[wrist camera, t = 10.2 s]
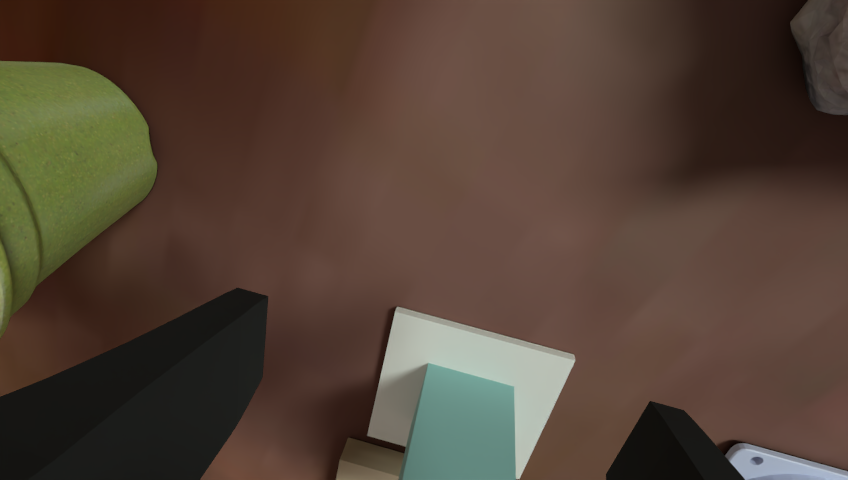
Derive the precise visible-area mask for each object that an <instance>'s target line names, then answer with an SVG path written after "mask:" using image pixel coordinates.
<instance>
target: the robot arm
mask: <svg viewBox="0 0 848 480" xmlns="http://www.w3.org/2000/svg"><path fill="white" fill-rule="evenodd" d="M267 306H268V296H265V295H262V294H258V293H255V292H251V291H247V290H244V289H240V288H236V289H234V290H232V291H229V292H227V293H225V294H223V295H221V296H219V297H217V298H215V299H213V300H211V301H209V302H207V303H205V304H203V305H201V306H200V307H198V308H196V309H194V310H192V311H190V312H188V313H186V314H184V315H182V316H180V317H178V318H176V319H174V320H172V321H170V322H168V323H166V324H164V325H162V326H160V327H158V328H156V329H154V330H152V331H150V332H148V333H146V334H144V335H141V336H139V337H137V338H135V339H133V340H131V341H129V342H127V343H125V344H123V345H121V346H118V347H116V348H114V349H112V350H110V351H107V352H105V353H103V354H101V355H98V356H96V357H94V358H92V359H89V360H87V361H85V362H83V363H80V364H78V365H76V366H74V367H71V368H69V369H67V370H65V371H62V372H60V373H58V374H56V375H53V376H51V377H49V378H46V379H44V380H41V381H39V382H37V383H34V384H32V385H29V386H27V387H24V388H22V389H19V390H17V391H14V392H11V393H9V394H6V395H4V396H1V397H0V480H200V478H201V477H202V476H203V474H204V473H205V471H206V470H207V468H208V467H209V465H210V464H211V463H212V461H213V460H214V458H215V457H216V455H217V454H218V452H219V451H220V449H221V448H222V447H223V445H224V444H225V442H226V441H227V439H228V438H229V436H230V435H231V433H232V432H233V430H234V429H235V427H236V426H237V424H238V422H239V421H240V419H241V417H242V415H243V413H244V411H245V410H246V408H247V406H248V404H249V402H250V400H251V398H252V396H253V395H254V393H255V391H256V389H257V387H258V385H259V383H260V381H261V379H262V377H263V363H264V349H265V335H266V320H267ZM606 480H848V471H845V470H841V469H837V468H834V467H830V466H826V465H823V464H819V463H816V462H812V461H808V460H805V459H801V458H797V457H794V456H790V455H787V454H783V453H779V452H776V451H772V450H768V449H765V448H761V447H758V446H754V445H750V444H746V443H739V444H736V445H734V446H732V447H731V448H730V450H729V451H728V452H727V454H726V455H724V454H723V453H722V452H721V451H720V450H719V448H718V447H717V446H716V445H715V444H714V443H713V442H712V440H711V439H710V438H709V437H708V436H707V435H706V434H705V432H704V431H703V430H702V429H701V428H700V427H699V426H698V425H697V424H696V423H695V421H694V420H693V419H692V418H691V417H690V416H689V415H688V414H687V413H686V412H685V411H684V410H681V409H677V408H674V407H670V406H666V405H663V404H659V403H655V402H652V401H650V402H649V404H648V405H647V407H646V409H645V410H644V412H643V414H642V415H641V417H640V419H639V420H638V422H637V424H636V425H635V427H634V429H633V430H632V432H631V434H630V435H629V437H628V439H627V440H626V442H625V444H624V445H623V447H622V449H621V450H620V452H619V454H618V455H617V457H616V459H615V460H614V462H613V464H612V465H611V467H610V469H609V470H608V472H607V474H606Z"/></svg>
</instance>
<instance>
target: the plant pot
mask: <svg viewBox="0 0 848 480" xmlns="http://www.w3.org/2000/svg"><path fill="white" fill-rule="evenodd" d="M156 174H157V162H156V160H155V158H154V156H153V153H152V149H151V145H150V138H149V127H148V125H147V123H146V121H145V119H144V118H143V116H142V114H141V113H140V111H139V110H138V109H137V107H136V106H135V104H134V103H133V102H132V101H131V100H130V99H129V98H128V97H127V95H126V94H125V93H124V92H123V91H122V90H121V89H119V88H118V87H117V86H116V85H115V84H113V83H112V82H111V81H109V80H108V79H107V78H105V77H103V76H102V75H100V74H98V73H96V72H94V71H92V70H90V69H87V68H84V67H80V66H75V65H69V64H63V63H47V62H14V61H0V338H1V337H2V335H3V334H4V332H5V330H6V328H7V326H8V323H9V320H10V317H11V316H12V315H13V314H14V313H15V312H16V311H17V310H19V309H20V308H21V307H22V306H23V305H24V304H25V303H26V302H27V301H28V300H29V298H30V297H31V295H32V293H33V291H34V290H35V287H36V286H37V285H38V284H39V283H41V282H42V281H43V280H44V279H45V278H47V277H48V276H49V275H50V274H51V273H53V272H54V271H55V270H56V269H57V268H59V267H60V266H61V265H62V264H63V263H64V262H66V261H67V260H68V259H69V258H70V257H72V256H73V255H74V254H75V253H77V252H78V251H79V250H80V249H81V248H83V247H84V246H85V245H86V244H88V243H89V242H90V241H91V240H93V239H94V238H95V237H96V236H98V235H99V234H100V233H101V232H103V231H104V230H105V229H106V228H108V227H109V226H110V225H112V224H113V223H114V222H116V221H117V220H118V219H119V218H121V217H122V216H123V215H124V214H126V213H127V212H128V211H129V210H131V209H132V208H133V207H134V206H136V205H137V204H138V203H140V202H141V201H142V200H143V199H144V198H145V197H146V196H147V195H148V193H149V192H150V190H151V188H152V187H153V184H154V182H155V178H156Z"/></svg>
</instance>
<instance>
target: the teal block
mask: <svg viewBox="0 0 848 480" xmlns="http://www.w3.org/2000/svg"><path fill="white" fill-rule="evenodd" d="M398 480H516V462H515V407H514V386H510V385H507V384H503V383H499V382H496V381H492V380H488V379H485V378H481V377H478V376H474V375H470V374H467V373H463V372H460V371H456V370H452V369H449V368H445V367H441V366H438V365H434V364H431V363H428V366H427V370H426V373H425V377H424V380H423V384H422V388H421V391H420V395H419V398H418V402H417V405H416V409H415V412H414V416H413V419H412V423H411V427H410V431H409V436H408V440H407V444H406V449H405V453H404V457H403V462H402V466H401V470H400V474H399V479H398Z"/></svg>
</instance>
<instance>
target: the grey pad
mask: <svg viewBox="0 0 848 480" xmlns="http://www.w3.org/2000/svg"><path fill="white" fill-rule="evenodd" d="M574 362H575V356H574V354H570V353H566V352H563V351H559V350H555V349H552V348H548V347H544V346H541V345H537V344H533V343H530V342H526V341H522V340H519V339H515V338H511V337H508V336H504V335H500V334H497V333H493V332H489V331H485V330H482V329H478V328H474V327H471V326H467V325H463V324H460V323H456V322H452V321H449V320H445V319H441V318H438V317H434V316H430V315H427V314H423V313H419V312H416V311H412V310H408V309H405V308H401V307H397V308H396V310H395V314H394V319H393V323H392V327H391V332H390V336H389V341H388V345H387V350H386V354H385V358H384V363H383V367H382V372H381V376H380V381H379V385H378V389H377V394H376V398H375V403H374V407H373V412H372V416H371V420H370V425H369V429H368V434H367V436H370V437H373V438H377V439H380V440H384V441H387V442H391V443H394V444H398V445H401V446H405V447H406V444H407V440H408V436H409V431H410V427H411V423H412V419H413V416H414V412H415V409H416V405H417V402H418V398H419V395H420V391H421V388H422V384H423V380H424V377H425V373H426V370H427V366H428V363H431V364H434V365H438V366H441V367H445V368H449V369H452V370H456V371H460V372H463V373H467V374H470V375H474V376H478V377H481V378H485V379H488V380H492V381H496V382H499V383H503V384H507V385H510V386H514V407H515V462H516V478H517V479H520V477H521V474H522V472H523V470H524V468H525V466H526V464H527V462H528V460H529V458H530V455H531V453H532V451H533V449H534V447H535V445H536V443H537V441H538V439H539V436H540V434H541V432H542V430H543V428H544V426H545V424H546V422H547V420H548V417H549V415H550V413H551V411H552V409H553V407H554V405H555V403H556V400H557V398H558V396H559V394H560V392H561V390H562V388H563V386H564V384H565V381H566V379H567V377H568V375H569V373H570V371H571V369H572V367H573V365H574Z"/></svg>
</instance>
